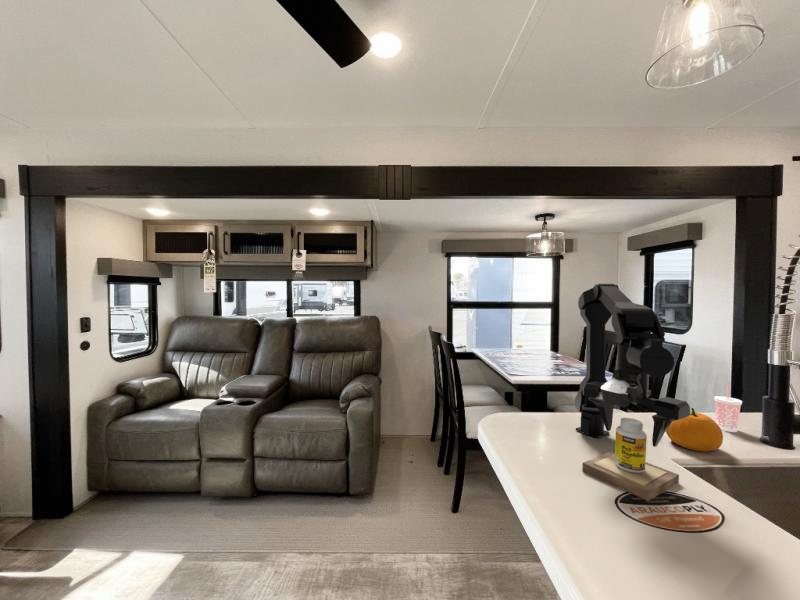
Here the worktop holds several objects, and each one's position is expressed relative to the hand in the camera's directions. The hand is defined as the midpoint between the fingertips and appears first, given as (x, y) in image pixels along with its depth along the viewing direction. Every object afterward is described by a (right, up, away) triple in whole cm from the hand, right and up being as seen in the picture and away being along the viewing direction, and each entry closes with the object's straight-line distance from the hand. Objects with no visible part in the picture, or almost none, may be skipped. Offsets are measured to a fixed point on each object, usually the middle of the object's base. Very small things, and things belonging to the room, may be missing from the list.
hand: (630, 438), depth 75 cm
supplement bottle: (0, -7, 0) cm, 7 cm away
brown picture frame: (0, -9, 0) cm, 9 cm away
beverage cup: (+48, -9, +29) cm, 57 cm away
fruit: (+27, -9, +17) cm, 33 cm away
